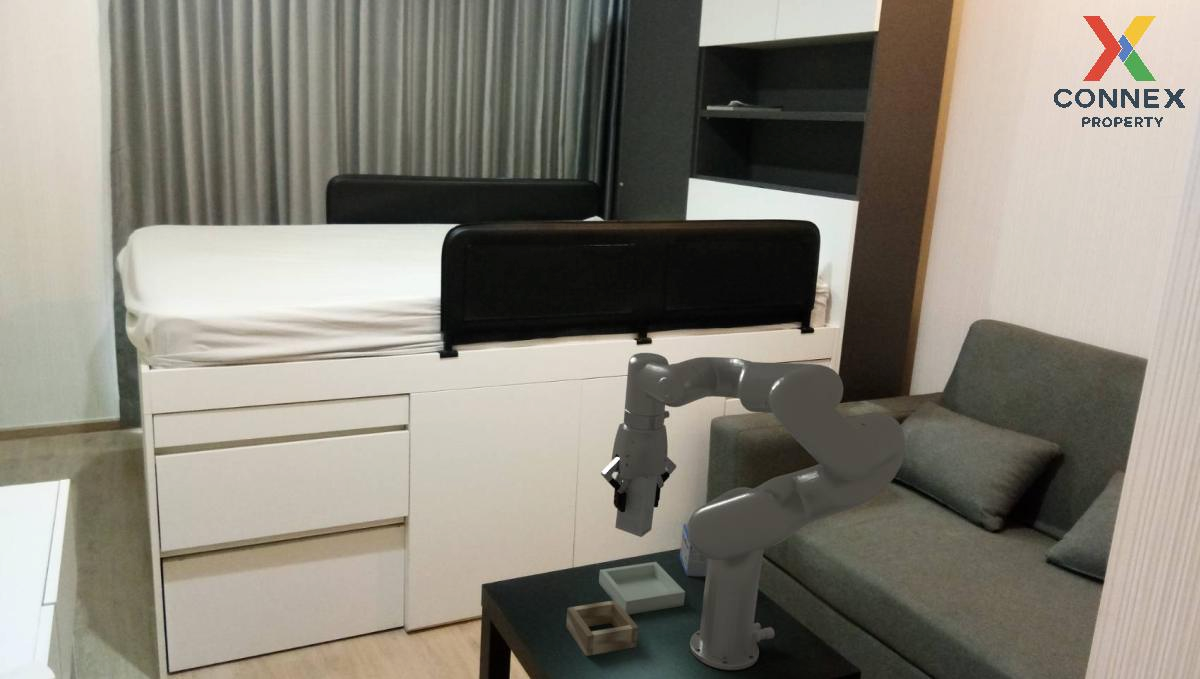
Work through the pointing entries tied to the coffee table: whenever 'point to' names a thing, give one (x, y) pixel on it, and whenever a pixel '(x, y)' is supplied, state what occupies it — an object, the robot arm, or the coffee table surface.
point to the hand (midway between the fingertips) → (636, 506)
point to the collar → (601, 639)
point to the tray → (641, 587)
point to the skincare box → (638, 506)
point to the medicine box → (691, 557)
